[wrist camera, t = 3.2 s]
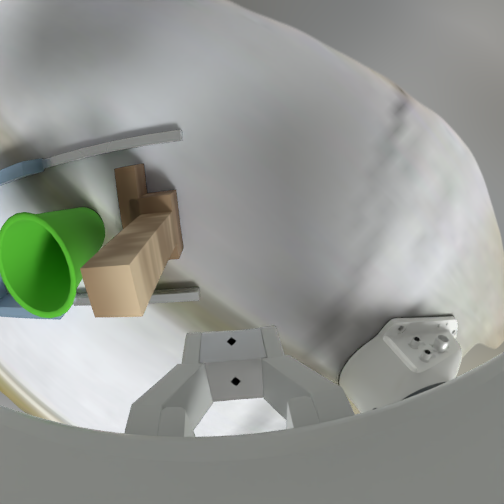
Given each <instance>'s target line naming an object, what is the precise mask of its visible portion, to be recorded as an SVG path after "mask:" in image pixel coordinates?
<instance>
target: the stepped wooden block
mask: <svg viewBox="0 0 504 504" xmlns="http://www.w3.org/2000/svg"><path fill="white" fill-rule="evenodd" d="M114 171H115V179H116V187H117V195H118V202H119V208H120V215H121V221H122V227H123V230H122V231H121V232H120V233H118V234H117V235H116V236H115V237H114V238H113V239H112V240H110V241H109V242H108V243H107V244H106V245H105V246H104V247H103V248H102V249H100V250H99V251H98V252H97V253H96V254H95V255H94V256H93V257H92V258H91V259H90V260H88V261H87V262H86V263H85V264H84V265H83V266H82V267H81V268H80V270H81V274H82V277H83V281H84V284H85V288H86V291H87V294H88V297H89V300H90V303H91V306H92V309H93V312H94V315H95V317H141V316H143V314H144V312H145V310H146V307H147V305H148V303H149V301H150V298H151V296H152V294H153V292H154V290H155V287H156V285H157V283H158V281H159V279H160V277H161V275H162V272H163V270H164V268H165V266H166V264H167V262H168V260H170V259H179V257H180V255H181V252H182V250H183V241H182V234H181V226H180V218H179V210H178V202H177V192H176V190H169V191H161V192H153V193H147V188H146V179H145V170H144V164H137V165H131V166H125V167H121V168H116V169H114Z"/></svg>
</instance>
